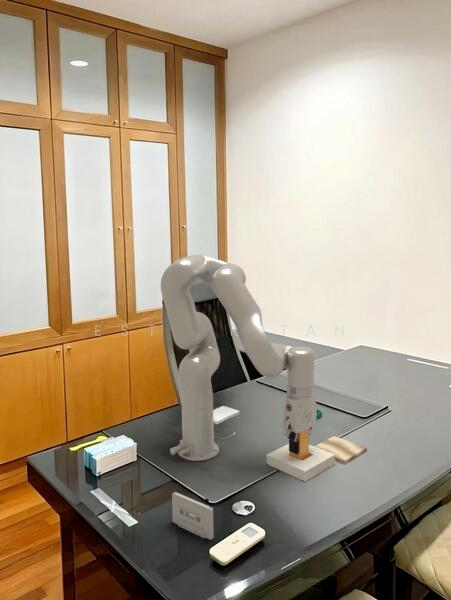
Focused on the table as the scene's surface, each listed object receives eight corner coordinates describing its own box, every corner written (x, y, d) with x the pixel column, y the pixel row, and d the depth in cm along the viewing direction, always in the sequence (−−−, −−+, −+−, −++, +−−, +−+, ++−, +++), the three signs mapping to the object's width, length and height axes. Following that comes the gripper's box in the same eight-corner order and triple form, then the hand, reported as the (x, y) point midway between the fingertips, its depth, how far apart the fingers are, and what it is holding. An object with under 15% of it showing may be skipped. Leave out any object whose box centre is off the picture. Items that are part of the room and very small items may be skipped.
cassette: (171, 523, 127) (170, 493, 125) (176, 519, 128) (175, 490, 127) (210, 541, 119) (209, 510, 118) (215, 537, 121) (214, 507, 120)
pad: (344, 464, 154) (344, 460, 154) (311, 450, 163) (311, 447, 163) (366, 450, 162) (366, 447, 162) (333, 438, 171) (333, 435, 171)
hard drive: (222, 405, 198) (199, 415, 188) (239, 410, 192) (216, 421, 183) (222, 409, 198) (199, 419, 189) (239, 415, 193) (216, 425, 183)
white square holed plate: (305, 481, 145) (305, 471, 144) (266, 464, 155) (266, 454, 154) (334, 464, 154) (335, 454, 154) (296, 448, 164) (296, 439, 164)
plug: (300, 466, 152) (300, 430, 150) (289, 461, 155) (289, 426, 153) (308, 461, 155) (309, 426, 153) (297, 457, 157) (298, 422, 156)
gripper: (291, 401, 142) (290, 464, 146) (328, 386, 154) (326, 445, 157) (270, 394, 148) (270, 455, 151) (307, 380, 159) (306, 437, 162)
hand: (298, 449), depth 154 cm, fingers closed on plug, 3 cm apart
